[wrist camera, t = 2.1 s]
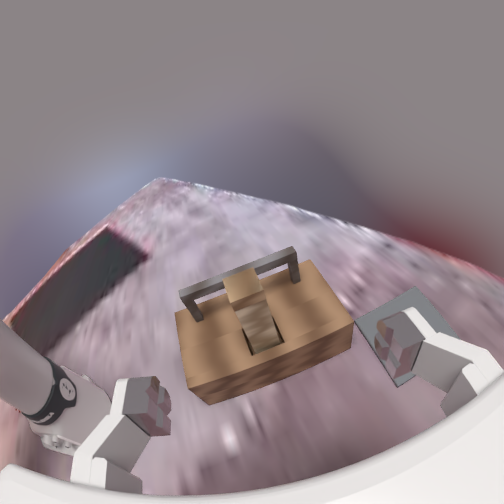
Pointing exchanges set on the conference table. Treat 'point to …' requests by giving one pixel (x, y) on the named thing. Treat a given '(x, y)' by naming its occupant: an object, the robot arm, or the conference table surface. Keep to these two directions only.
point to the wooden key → (252, 309)
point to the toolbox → (237, 343)
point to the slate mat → (397, 305)
